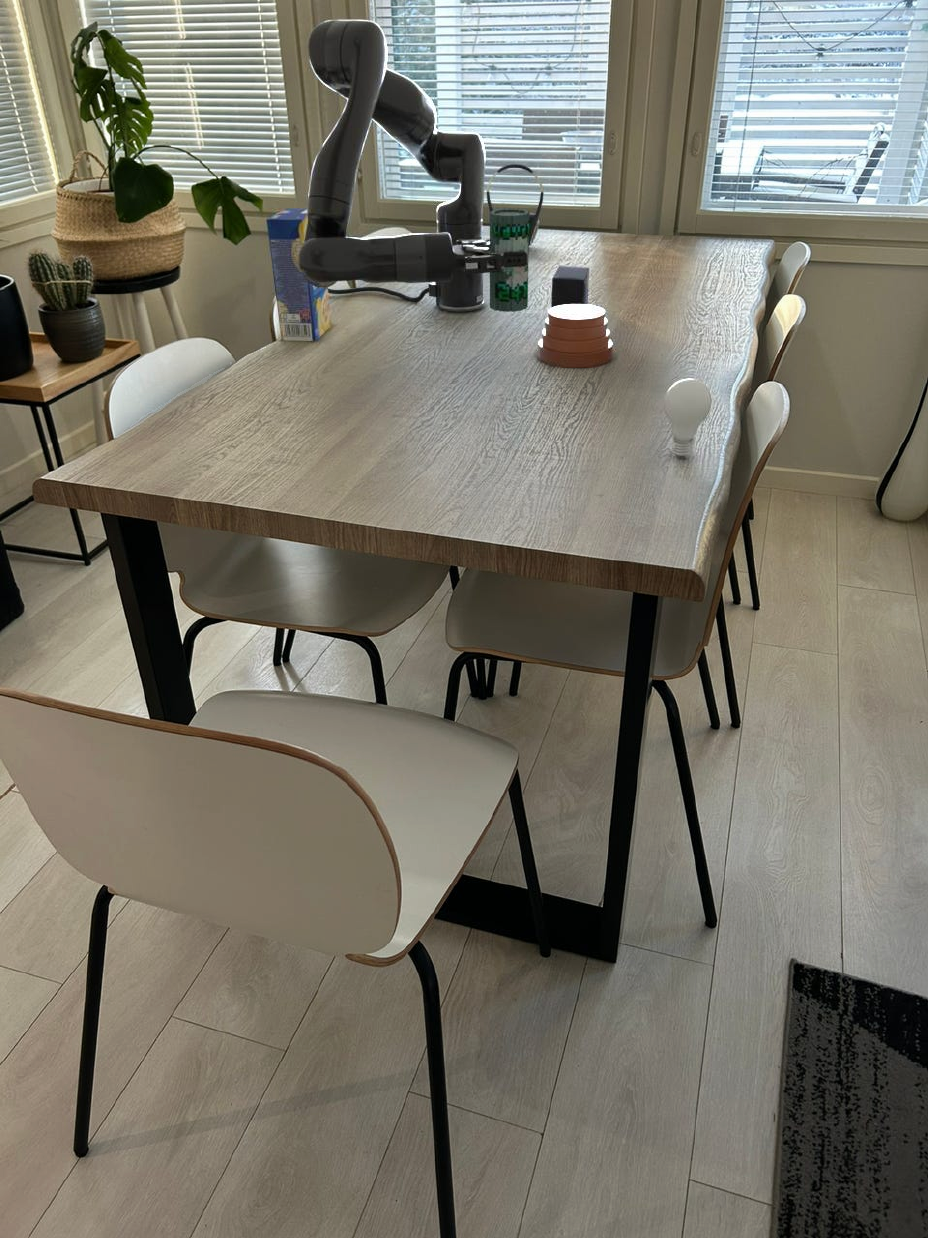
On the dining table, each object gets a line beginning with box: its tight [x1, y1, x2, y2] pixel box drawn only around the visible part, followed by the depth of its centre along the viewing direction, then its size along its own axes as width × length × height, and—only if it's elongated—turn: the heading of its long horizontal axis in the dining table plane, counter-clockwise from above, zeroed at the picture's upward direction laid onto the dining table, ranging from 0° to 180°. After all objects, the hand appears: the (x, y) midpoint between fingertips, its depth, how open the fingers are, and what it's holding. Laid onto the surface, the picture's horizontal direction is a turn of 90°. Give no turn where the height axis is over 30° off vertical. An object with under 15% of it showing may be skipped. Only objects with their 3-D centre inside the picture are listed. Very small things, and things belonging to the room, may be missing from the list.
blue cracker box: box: [266, 208, 332, 342], centre depth 186 cm, size 7×11×22 cm, turn 170°
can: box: [489, 208, 530, 313], centre depth 160 cm, size 6×6×15 cm
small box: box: [550, 265, 590, 309], centre depth 188 cm, size 11×6×10 cm, turn 168°
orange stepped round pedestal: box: [537, 304, 613, 369], centre depth 173 cm, size 13×13×8 cm
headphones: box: [486, 163, 545, 247], centre depth 249 cm, size 9×15×20 cm, turn 77°
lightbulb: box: [663, 378, 713, 458], centre depth 133 cm, size 6×6×11 cm
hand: (522, 253), depth 160 cm, fingers closed on can, 6 cm apart
